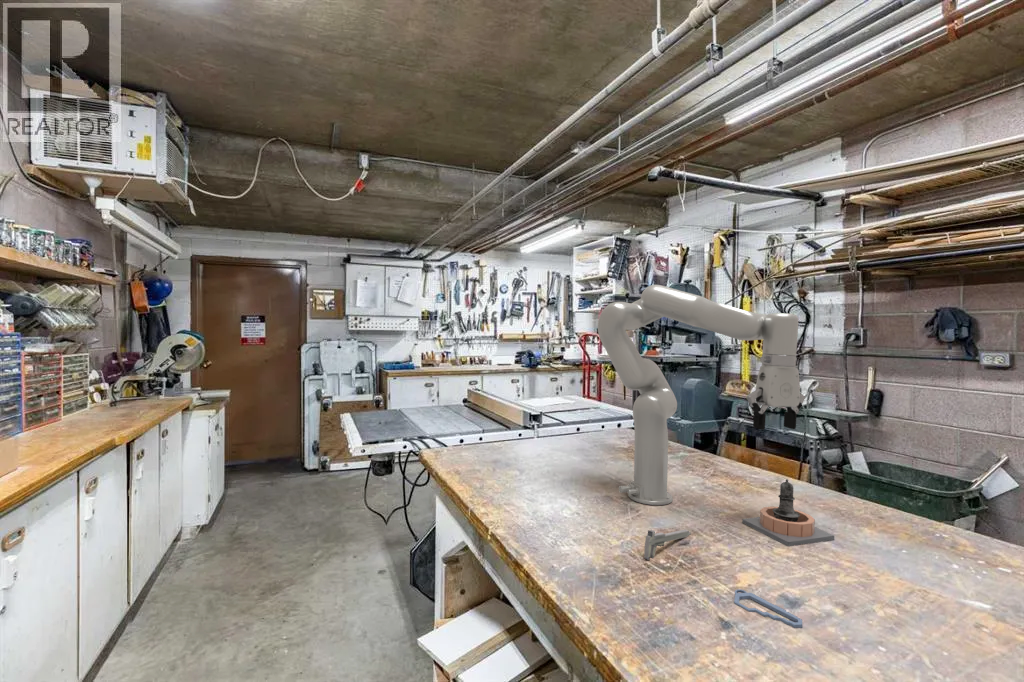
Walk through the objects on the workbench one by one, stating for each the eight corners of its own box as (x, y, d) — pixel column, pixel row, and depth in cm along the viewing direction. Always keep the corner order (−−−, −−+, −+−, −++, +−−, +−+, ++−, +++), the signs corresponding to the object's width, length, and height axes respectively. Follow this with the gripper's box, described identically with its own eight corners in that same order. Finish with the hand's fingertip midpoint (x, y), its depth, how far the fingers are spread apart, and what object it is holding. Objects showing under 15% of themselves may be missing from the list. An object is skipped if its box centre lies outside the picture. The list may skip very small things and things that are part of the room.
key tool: (791, 638, 76) (807, 625, 78) (791, 632, 76) (807, 620, 78) (724, 601, 86) (740, 592, 89) (724, 597, 86) (740, 587, 88)
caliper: (648, 562, 100) (649, 533, 100) (644, 560, 100) (644, 531, 100) (691, 535, 114) (691, 509, 114) (687, 533, 115) (687, 508, 115)
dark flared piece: (796, 524, 119) (797, 476, 118) (802, 533, 113) (803, 483, 113) (770, 520, 120) (771, 474, 120) (774, 529, 115) (776, 480, 115)
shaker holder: (788, 546, 108) (788, 529, 108) (742, 522, 121) (742, 507, 121) (834, 539, 112) (834, 523, 112) (784, 517, 125) (785, 502, 125)
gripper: (762, 362, 114) (757, 432, 114) (818, 363, 118) (813, 431, 119) (739, 359, 121) (735, 425, 121) (793, 361, 125) (789, 424, 126)
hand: (774, 428), depth 120 cm, fingers open, 9 cm apart
